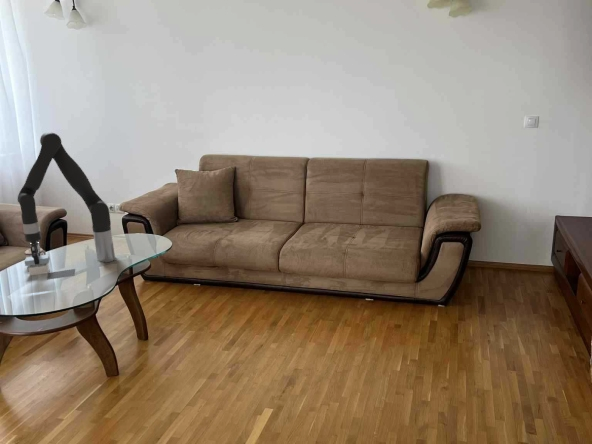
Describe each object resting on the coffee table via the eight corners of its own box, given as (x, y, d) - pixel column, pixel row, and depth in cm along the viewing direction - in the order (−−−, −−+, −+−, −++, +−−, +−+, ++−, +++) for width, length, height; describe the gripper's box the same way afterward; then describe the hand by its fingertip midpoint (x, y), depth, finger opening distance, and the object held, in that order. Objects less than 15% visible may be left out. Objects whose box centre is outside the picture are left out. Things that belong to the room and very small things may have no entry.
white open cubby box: (49, 270, 293) (48, 261, 291) (49, 274, 288) (47, 265, 286) (31, 273, 290) (29, 264, 289) (30, 277, 285) (28, 268, 284)
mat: (75, 270, 291) (75, 268, 291) (74, 277, 282) (74, 275, 282) (48, 274, 287) (48, 272, 287) (47, 281, 278) (46, 279, 278)
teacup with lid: (36, 270, 294) (32, 249, 291) (23, 269, 297) (19, 248, 294) (53, 262, 305) (49, 242, 302) (40, 261, 308) (36, 241, 305)
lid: (49, 258, 291) (49, 254, 291) (48, 262, 286) (47, 258, 285) (27, 262, 288) (26, 257, 287) (25, 266, 283) (24, 261, 282)
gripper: (38, 234, 277) (44, 265, 281) (41, 226, 290) (47, 256, 295) (22, 236, 274) (28, 267, 279) (25, 228, 288) (31, 258, 292)
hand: (37, 261), depth 287 cm, fingers closed on lid, 6 cm apart
